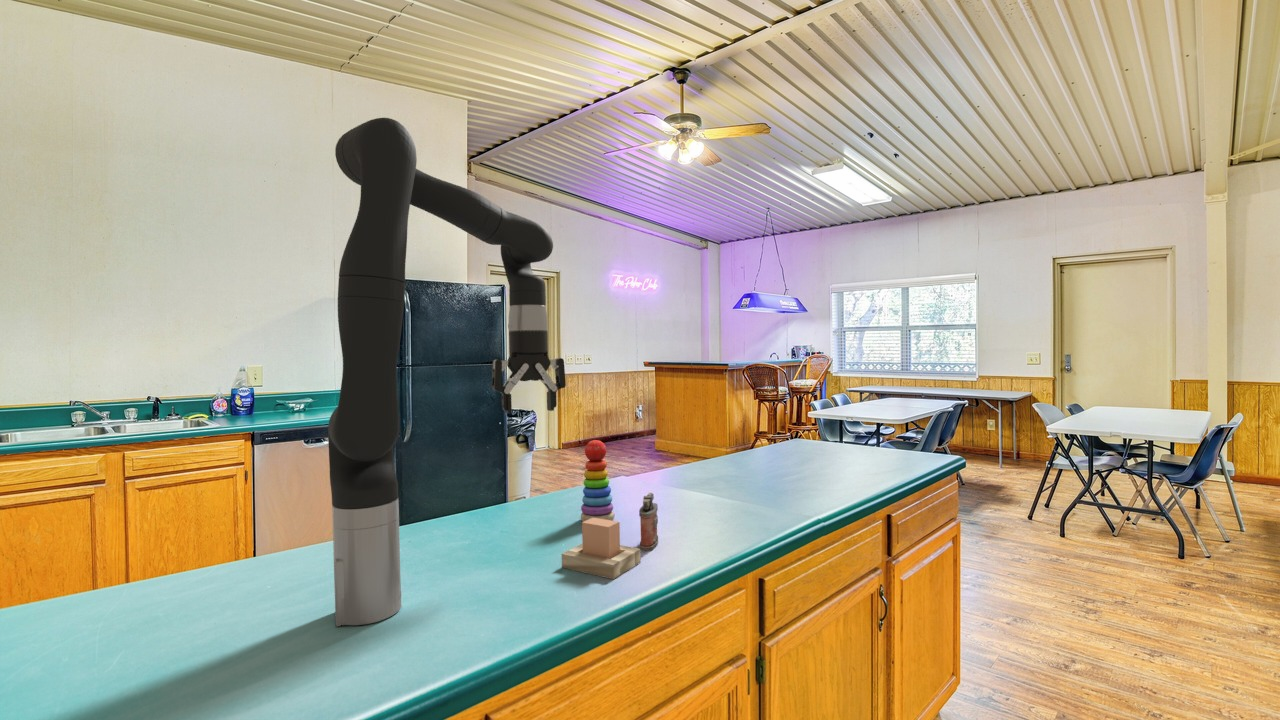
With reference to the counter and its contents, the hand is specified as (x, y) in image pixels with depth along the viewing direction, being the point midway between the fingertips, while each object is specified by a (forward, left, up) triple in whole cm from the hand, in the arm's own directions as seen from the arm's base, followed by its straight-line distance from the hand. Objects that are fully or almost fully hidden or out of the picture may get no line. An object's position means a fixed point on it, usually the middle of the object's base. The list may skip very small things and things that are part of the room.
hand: (529, 411), depth 113 cm
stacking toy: (+20, +13, -28) cm, 37 cm away
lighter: (+22, -8, -28) cm, 37 cm away
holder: (+9, -13, -28) cm, 32 cm away
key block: (+9, -13, -28) cm, 32 cm away
